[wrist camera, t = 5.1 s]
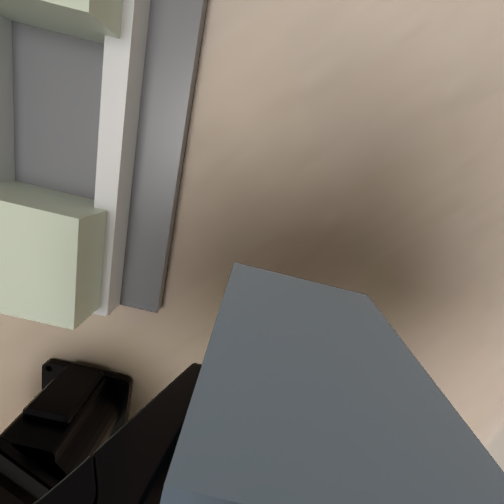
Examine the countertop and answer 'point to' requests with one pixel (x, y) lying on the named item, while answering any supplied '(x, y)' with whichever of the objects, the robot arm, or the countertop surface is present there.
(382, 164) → the countertop surface
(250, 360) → the module
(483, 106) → the countertop surface
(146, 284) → the rail base
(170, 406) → the robot arm
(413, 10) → the countertop surface
